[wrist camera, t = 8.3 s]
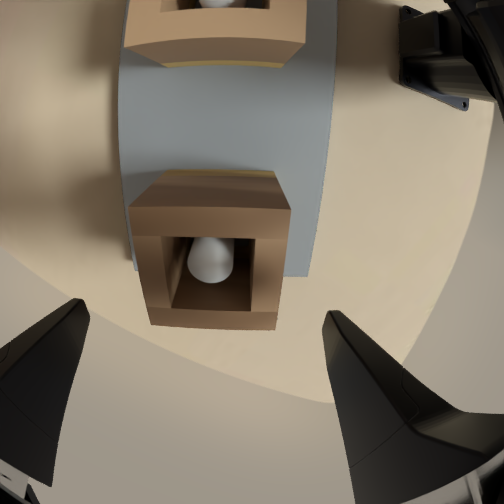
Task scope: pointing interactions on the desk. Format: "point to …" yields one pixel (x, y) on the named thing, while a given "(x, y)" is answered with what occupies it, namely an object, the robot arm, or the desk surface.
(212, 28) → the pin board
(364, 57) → the desk surface
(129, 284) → the desk surface
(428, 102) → the desk surface
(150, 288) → the sleeve
